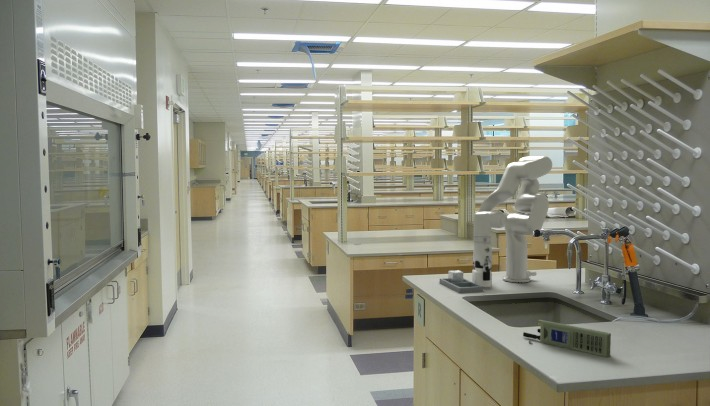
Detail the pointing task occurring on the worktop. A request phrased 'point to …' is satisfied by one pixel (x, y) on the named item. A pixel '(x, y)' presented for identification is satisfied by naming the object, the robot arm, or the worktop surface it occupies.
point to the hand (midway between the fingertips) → (481, 278)
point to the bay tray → (462, 286)
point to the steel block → (455, 276)
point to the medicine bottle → (480, 276)
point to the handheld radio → (573, 338)
